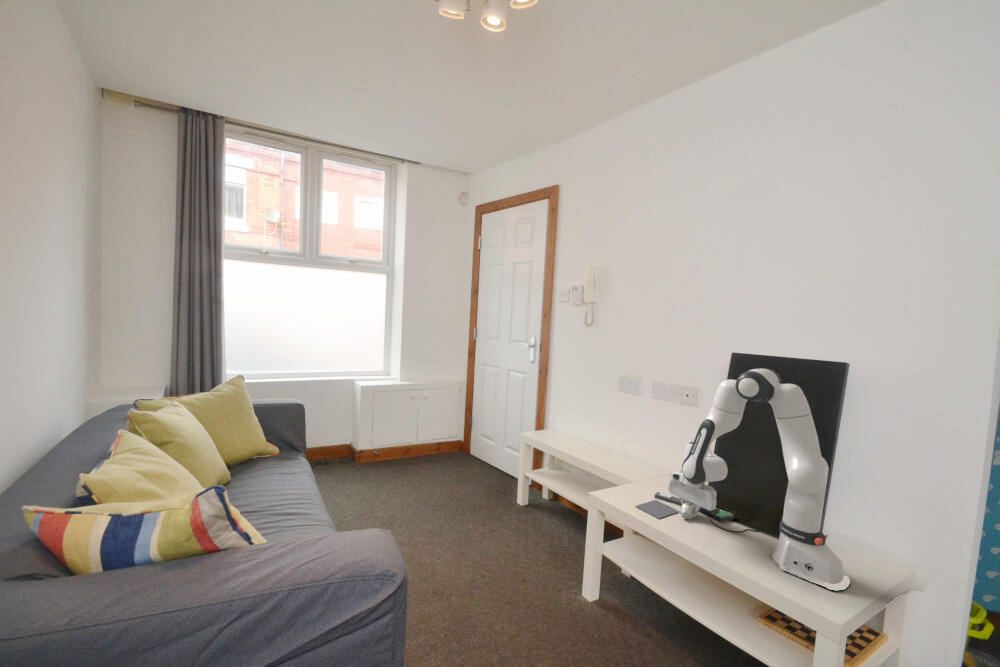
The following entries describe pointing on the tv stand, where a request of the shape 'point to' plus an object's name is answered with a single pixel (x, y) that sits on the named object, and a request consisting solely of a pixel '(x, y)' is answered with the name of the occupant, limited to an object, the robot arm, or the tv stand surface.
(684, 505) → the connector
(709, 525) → the tv stand surface
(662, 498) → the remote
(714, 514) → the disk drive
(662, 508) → the mat
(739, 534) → the tv stand surface
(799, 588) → the tv stand surface
